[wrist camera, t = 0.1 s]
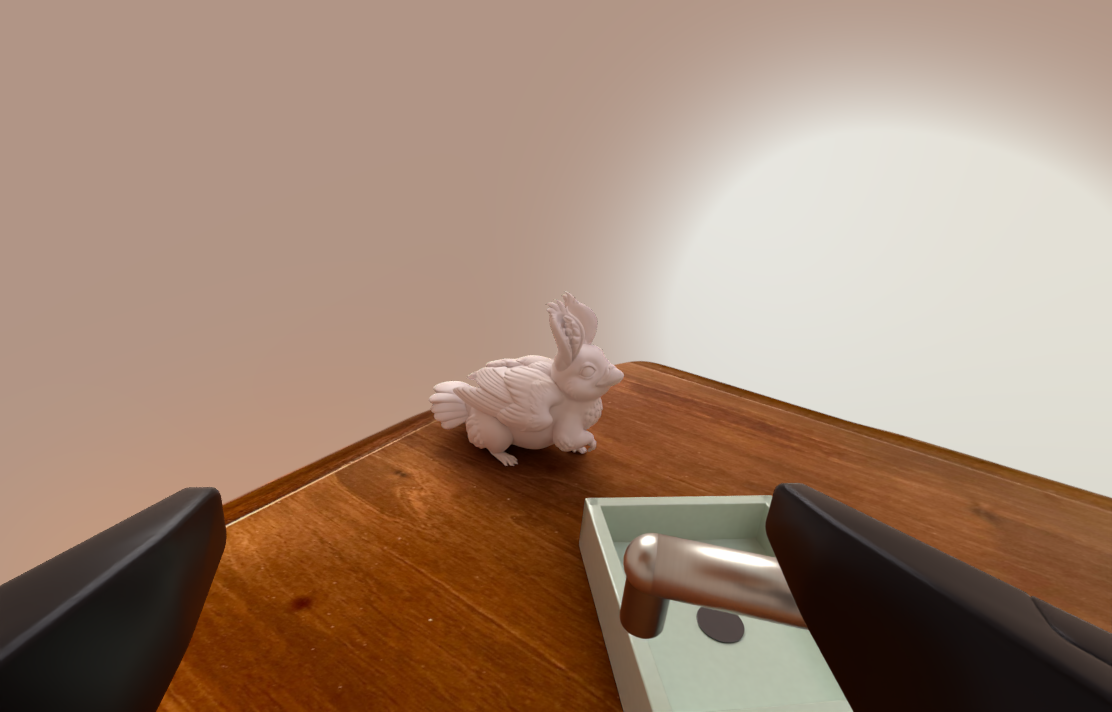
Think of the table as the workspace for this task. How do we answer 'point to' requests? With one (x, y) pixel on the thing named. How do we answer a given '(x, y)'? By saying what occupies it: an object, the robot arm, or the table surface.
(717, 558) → the faucet
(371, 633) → the table surface
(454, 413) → the figurine
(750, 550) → the sink
